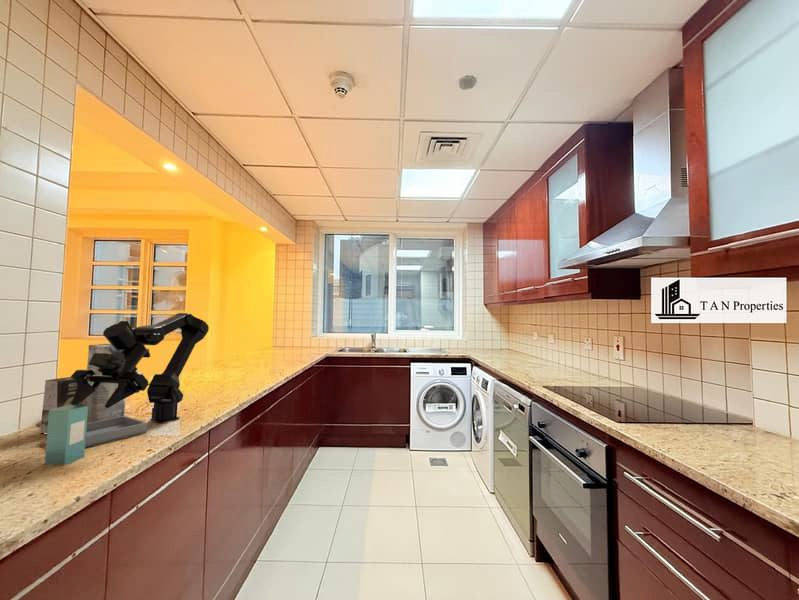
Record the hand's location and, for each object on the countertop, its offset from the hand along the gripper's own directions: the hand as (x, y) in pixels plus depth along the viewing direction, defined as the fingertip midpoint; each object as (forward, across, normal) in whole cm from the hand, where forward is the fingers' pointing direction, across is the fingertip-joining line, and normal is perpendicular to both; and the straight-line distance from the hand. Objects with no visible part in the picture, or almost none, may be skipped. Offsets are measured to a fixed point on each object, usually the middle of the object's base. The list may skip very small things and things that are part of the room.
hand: (89, 406), depth 91 cm
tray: (0, -6, +16) cm, 17 cm away
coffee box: (-2, -21, +19) cm, 29 cm away
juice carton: (-10, -19, +27) cm, 35 cm away
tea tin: (+12, 0, +5) cm, 13 cm away
